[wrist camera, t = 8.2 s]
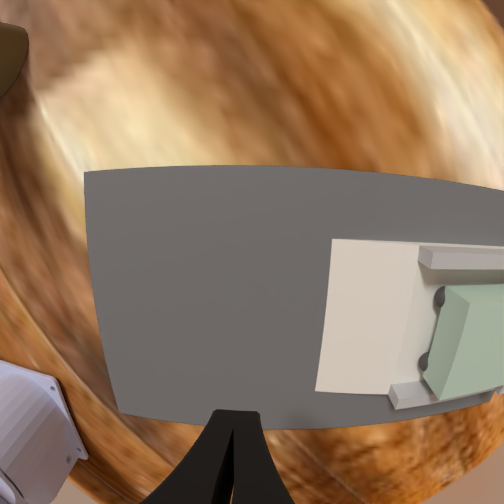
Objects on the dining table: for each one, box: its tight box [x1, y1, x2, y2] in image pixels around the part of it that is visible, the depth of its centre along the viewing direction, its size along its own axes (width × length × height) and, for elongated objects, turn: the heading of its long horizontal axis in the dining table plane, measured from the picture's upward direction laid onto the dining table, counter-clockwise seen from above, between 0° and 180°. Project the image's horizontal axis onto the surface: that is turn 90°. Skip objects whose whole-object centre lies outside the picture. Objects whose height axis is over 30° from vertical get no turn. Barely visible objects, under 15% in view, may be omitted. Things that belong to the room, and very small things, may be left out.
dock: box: [84, 165, 504, 429], centre depth 15 cm, size 16×28×4 cm, turn 89°
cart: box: [418, 284, 504, 400], centre depth 14 cm, size 6×7×3 cm
